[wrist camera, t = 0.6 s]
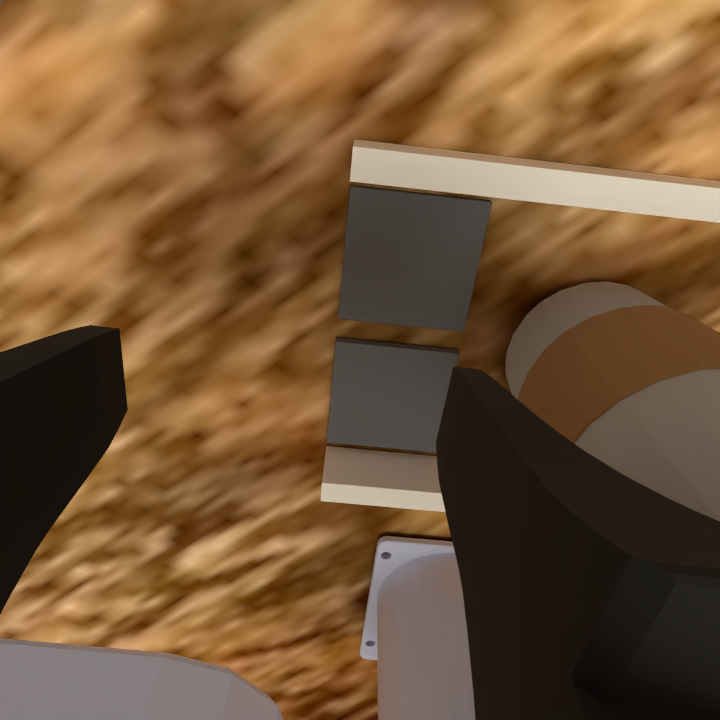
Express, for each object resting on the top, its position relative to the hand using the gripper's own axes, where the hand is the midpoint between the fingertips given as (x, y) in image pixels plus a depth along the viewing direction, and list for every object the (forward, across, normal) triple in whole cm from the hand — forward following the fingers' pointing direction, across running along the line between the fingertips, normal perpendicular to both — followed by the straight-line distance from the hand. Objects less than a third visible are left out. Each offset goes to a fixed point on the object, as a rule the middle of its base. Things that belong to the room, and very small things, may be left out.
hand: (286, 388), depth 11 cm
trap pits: (+10, -3, +2) cm, 10 cm away
